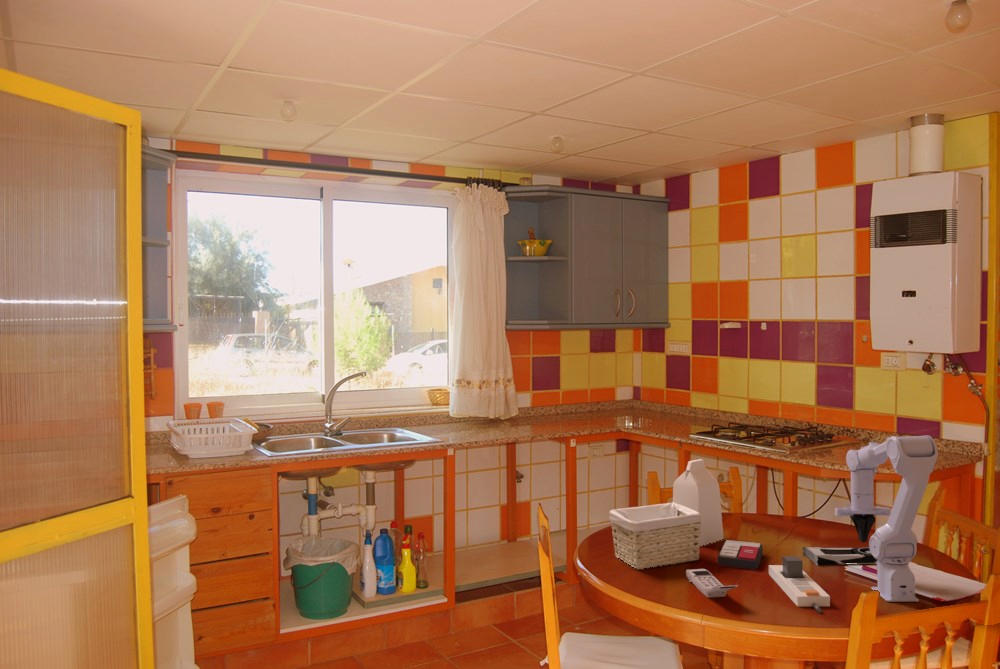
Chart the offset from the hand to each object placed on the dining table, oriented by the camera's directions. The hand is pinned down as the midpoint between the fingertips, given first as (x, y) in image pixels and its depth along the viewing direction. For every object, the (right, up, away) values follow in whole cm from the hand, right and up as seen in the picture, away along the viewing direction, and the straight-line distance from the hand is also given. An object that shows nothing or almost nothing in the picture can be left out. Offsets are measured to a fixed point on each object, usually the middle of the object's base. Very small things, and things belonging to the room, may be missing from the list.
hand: (862, 541), depth 211 cm
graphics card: (+3, -10, +13) cm, 16 cm away
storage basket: (-54, -11, +18) cm, 58 cm away
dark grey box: (-29, -10, +15) cm, 35 cm away
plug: (-22, -10, -6) cm, 25 cm away
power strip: (-22, -10, -12) cm, 27 cm away
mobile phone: (-45, -11, -9) cm, 48 cm away
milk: (-36, -10, +37) cm, 53 cm away
